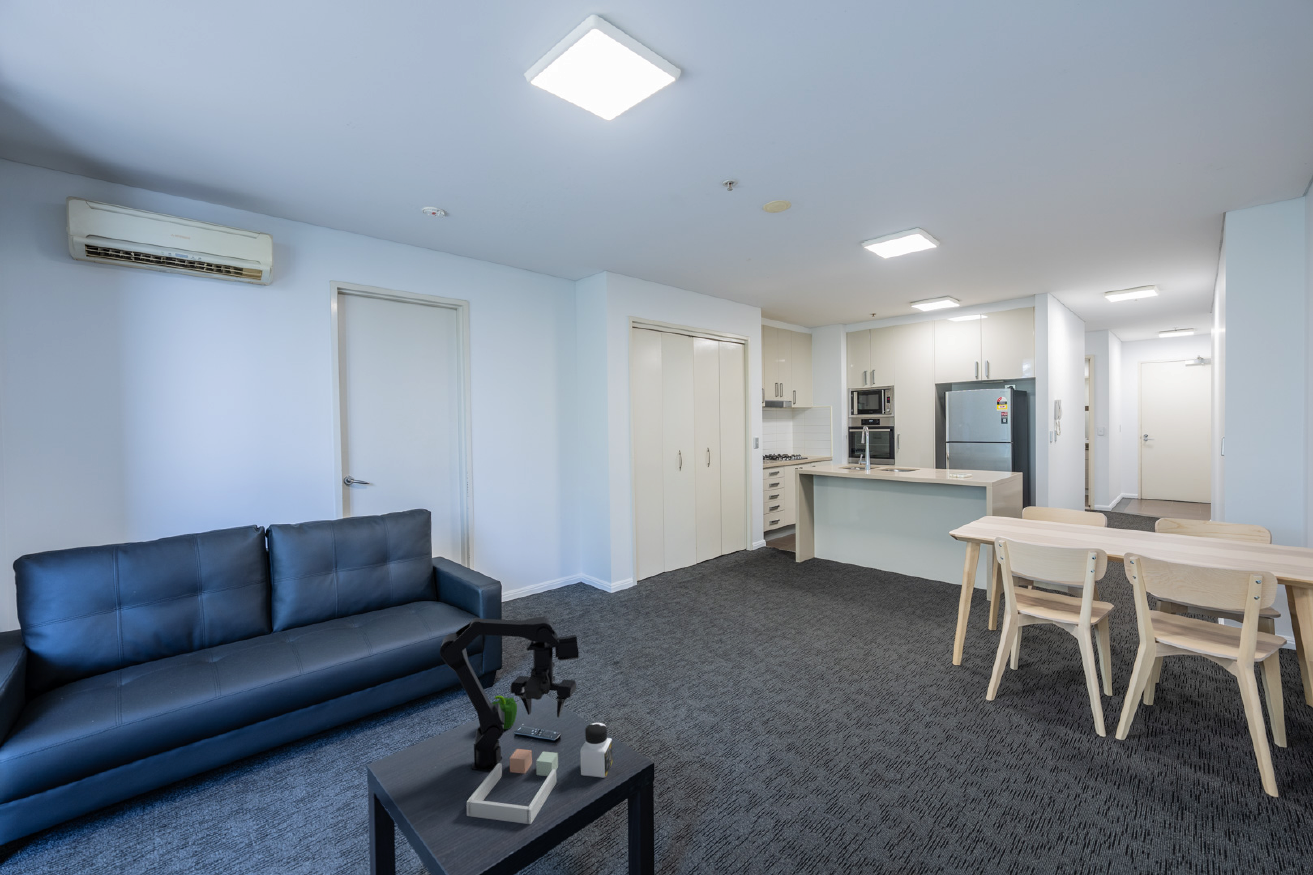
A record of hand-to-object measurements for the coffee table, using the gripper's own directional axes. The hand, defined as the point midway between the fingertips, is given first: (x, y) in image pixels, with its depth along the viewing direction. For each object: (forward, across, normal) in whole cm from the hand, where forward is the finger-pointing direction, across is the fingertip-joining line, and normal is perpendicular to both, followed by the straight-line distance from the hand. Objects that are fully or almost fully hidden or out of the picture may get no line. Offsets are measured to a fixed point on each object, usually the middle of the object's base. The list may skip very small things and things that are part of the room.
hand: (543, 715), depth 159 cm
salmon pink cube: (+12, -4, -7) cm, 14 cm away
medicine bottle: (+12, +18, -4) cm, 21 cm away
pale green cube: (+12, +4, -7) cm, 14 cm away
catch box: (+11, 0, -20) cm, 23 cm away
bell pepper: (+12, -20, +13) cm, 26 cm away
